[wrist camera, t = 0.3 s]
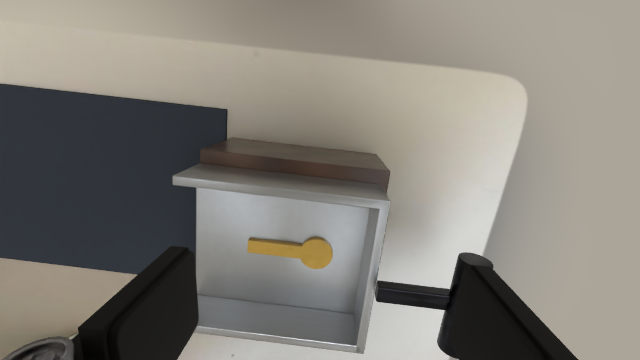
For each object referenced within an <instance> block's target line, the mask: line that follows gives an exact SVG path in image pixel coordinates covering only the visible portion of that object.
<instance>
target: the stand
mask: <svg viewBox="0 0 640 360" xmlns="http://www.w3.org/2000/svg"><path fill="white" fill-rule="evenodd" d="M200 163H202V164H211V165H220V166H228V167H237V168H245V169H254V170H263V171H271V172H280V173H288V174H297V175H306V176H314V177H323V178H331V179H340V180H349V181H357V182H366V183H374V184H381V186H382V187H383V189H384V191H385V192H386V193H387V188H388V182H389V176H390V171H389V169H388V168H387V167H386V166H385V164H384V163H383V162H382V161H381V159H380V158H379V157H378V156H377V155H376V154H369V153H360V152H351V151H343V150H334V149H325V148H316V147H308V146H299V145H290V144H281V143H273V142H264V141H255V140H247V139H238V138H231V139H228V140H225V141H222V142H220V143H217V144H214V145H211V146H208V147H205V148H203V149H200Z"/></svg>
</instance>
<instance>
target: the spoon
mask: <svg viewBox="0 0 640 360" xmlns="http://www.w3.org/2000/svg"><path fill="white" fill-rule="evenodd" d="M247 252H248V253H256V254H265V255H273V256H281V257H290V258H298V259H301V261H302V262H303V264H304V265H306V266H307V267H309V268H311V269H322V268H324V267H326V266H327V265H328V264H329V263H330V262H331V260H332V257H333V250H332V246H331V245H330V243H329V242H328V241H327V240H325V239H324V238H321V237H311V238H308V239H307V240H305V241H304V242H303V244H299V243H291V242H283V241H274V240H266V239H258V238H249V239H248V247H247Z"/></svg>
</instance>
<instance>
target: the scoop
mask: <svg viewBox="0 0 640 360" xmlns="http://www.w3.org/2000/svg"><path fill="white" fill-rule="evenodd" d="M173 185H178V186H187V187H195V188H196V282H197V296H198V311H199V320H198V324H197V327H196V329H195V331H194V333H202V334H210V335H218V336H226V337H234V338H242V339H250V340H258V341H266V342H274V343H282V344H290V345H298V346H306V347H314V348H322V349H330V350H338V351H345V352H353V353H361V354H364V349H365V343H366V338H367V332H368V326H369V321H370V315H371V310H372V304H373V298H374V293H375V297H376V301H377V302H384V303H392V304H400V305H408V306H416V307H425V308H433V309H441V310H445V311H444V315H443V319H442V323H441V327H440V331H439V335H438V339H437V343H438V346H439V348H440V349H441V350H442V351H443V352H444V353H446V354H447V355H449V356H451V357H453V358H457V359H459V358H458V356H457V354H456V352H455V350H454V348H453V345H452V341H451V333H452V327H453V322H454V316H455V311H456V306H457V300H458V295H459V290H460V284H461V279H462V273H463V270H464V269H468V267H469V266H470V265H484V266H490V267H491V268H492V269H493V264H492V263H491V261H489V260H488V259H486V258H484V257H482V256H480V255H477V254H473V253H460V254H459V255H458V259H457V263H456V267H455V271H454V275H453V279H452V283H451V287H450V289H444V288H435V287H427V286H419V285H411V284H403V283H394V282H386V281H377V276H378V270H379V264H380V259H381V253H382V247H383V242H384V236H385V231H386V225H387V219H388V214H389V208H390V202H391V201H390V199H389V198H388V196H387V194H386V192H385V191H384V189H383V187H382V186H381V184H374V183H366V182H357V181H349V180H340V179H331V178H323V177H314V176H306V175H297V174H288V173H280V172H271V171H263V170H254V169H245V168H237V167H228V166H220V165H211V164H202V163H199V164H197V165H195V166H193V167H191V168H189V169H186V170H184V171H182V172H180V173H178V174H175V175H173ZM311 237H321V238H324V239H325V240H327V241H328V242H329V243H330V245H331V246H332V250H333V257H332V260H331V262H330V263H329V264H328V265H327V266H326V267H324V268H322V269H311V268H309V267H307V266H306V265H304V264H303V262H302V261H301V259H298V258H290V257H281V256H273V255H265V254H256V253H248V252H247V247H248V239H249V238H258V239H266V240H274V241H283V242H291V243H299V244H303V242H304V241H305V240H307V239H308V238H311ZM376 281H377V284H376ZM375 287H376V289H375Z"/></svg>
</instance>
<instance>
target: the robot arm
mask: <svg viewBox="0 0 640 360" xmlns="http://www.w3.org/2000/svg"><path fill="white" fill-rule="evenodd" d="M198 320H199V311H198V296H197V282H196V267H195V255H194V252H193V251H190V249H189V248H188V247H180V246H170V247H169V248H168V249H166V250H165V251H164V252H163V253H162V254H161V255H160V256H159V257H157V258H156V259H155V260H154V261H153V262H152V263H151V264H149V265H148V266H147V267H146V268H145V269H144V270H143V271H142V272H140V273H139V274H138V275H137V276H136V277H135V278H134V279H133V280H131V281H130V282H129V283H128V284H127V285H126V286H125V287H124V288H122V289H121V290H120V291H119V292H118V293H117V294H116V295H114V296H113V297H112V298H111V299H110V300H109V301H108V302H107V303H105V304H104V305H103V306H102V307H101V308H100V309H99V310H98V311H96V312H95V313H94V314H93V315H92V316H91V317H90V318H89V319H87V320H86V321H85V322H84V323H83V324H82V325H81V326H79V327H78V331H79V333H78V334H77V335H76V336H75V337H74V338H72V339H71V340H70V339H69V338H67V337H60V336H58V337H48V338H44V339H41V340H37V341H34V342H32V343H29V344H27V345H24V346H23V347H21V348H19V349H17V350H15V351H13V352H12V353H10V354H9V355H7V356H6V357H5V358H3V359H2V360H177V359H178V357H179V355H180V354H181V352H182V350H183V349H184V347H185V345H186V344H187V342H188V341H189V339H190V337H191V336H192V334H193V332H194V331H195V329H196V327H197V324H198ZM451 341H452V345H453V348H454V350H455V352H456V354H457V356H458V358H459V360H578V359H577V358H576V357H575V356H574V355H573V354H572V353H571V352H570V351H569V350H568V348H566V346H565V345H564V344H563V343H562V342H561V341H560V340H559V339H558V338H557V337H556V336H555V335H554V334H553V333H552V332H551V331H550V329H549V328H548V327H547V326H546V325H545V324H544V323H543V322H542V321H541V320H540V319H539V318H538V317H537V316H536V315H535V314H534V313H533V311H532V310H531V309H530V308H529V307H528V306H527V305H526V304H525V303H524V302H523V301H522V300H521V299H520V298H519V297H518V296H517V295H516V293H515V292H514V291H513V290H512V289H511V288H510V287H509V286H508V285H507V284H506V283H505V282H504V281H503V280H502V279H501V278H500V276H498V274H497V273H496V272H495V271H494V270H493V269H492V268H491V267H490V266H484V265H470V266H469V267H468V269H464V270H463V273H462V279H461V284H460V290H459V295H458V300H457V306H456V311H455V316H454V322H453V327H452V333H451Z"/></svg>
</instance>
